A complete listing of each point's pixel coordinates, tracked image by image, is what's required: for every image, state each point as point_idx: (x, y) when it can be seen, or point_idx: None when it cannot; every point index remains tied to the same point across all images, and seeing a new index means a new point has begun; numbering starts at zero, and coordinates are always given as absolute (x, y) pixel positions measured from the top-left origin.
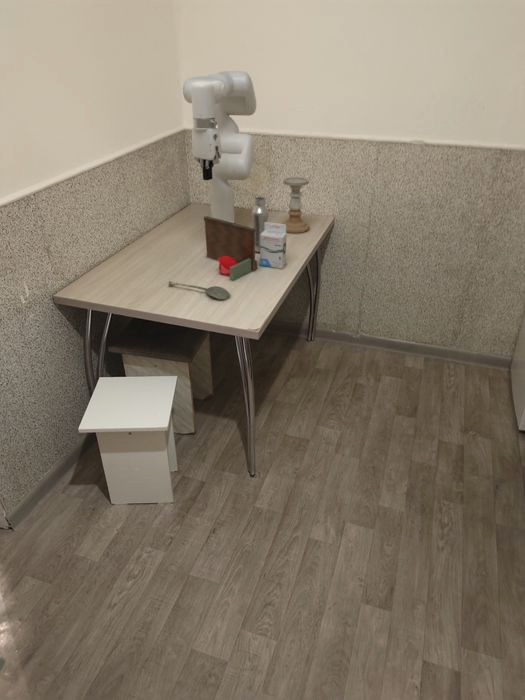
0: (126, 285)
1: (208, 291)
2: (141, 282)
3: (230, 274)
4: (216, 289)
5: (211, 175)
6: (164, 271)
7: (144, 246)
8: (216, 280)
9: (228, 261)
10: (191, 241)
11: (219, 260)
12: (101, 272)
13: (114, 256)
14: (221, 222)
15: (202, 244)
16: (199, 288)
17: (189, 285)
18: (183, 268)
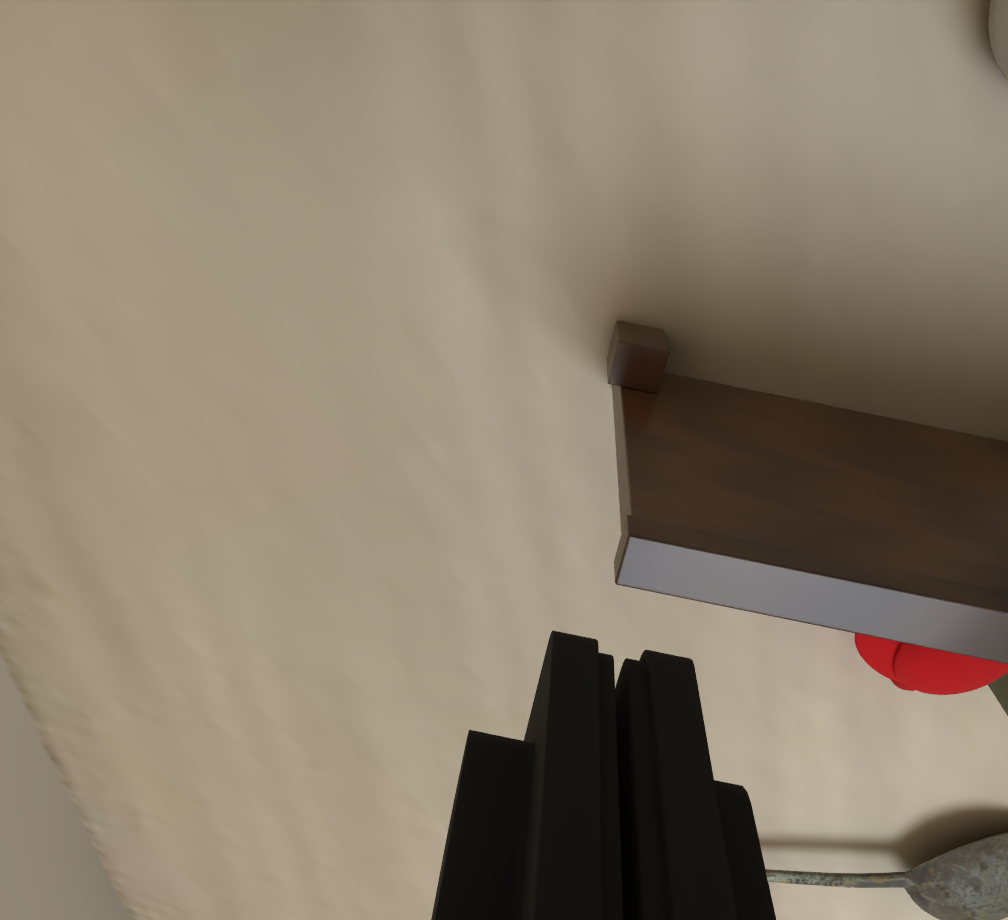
0: (407, 900)
1: (943, 917)
2: None
3: (997, 693)
4: (994, 908)
5: (744, 842)
6: (475, 707)
7: (11, 408)
8: (881, 701)
9: (987, 684)
10: (254, 109)
11: (894, 675)
12: (158, 830)
13: (9, 638)
14: (921, 643)
15: (400, 131)
16: (861, 885)
17: (786, 881)
18: (562, 629)
